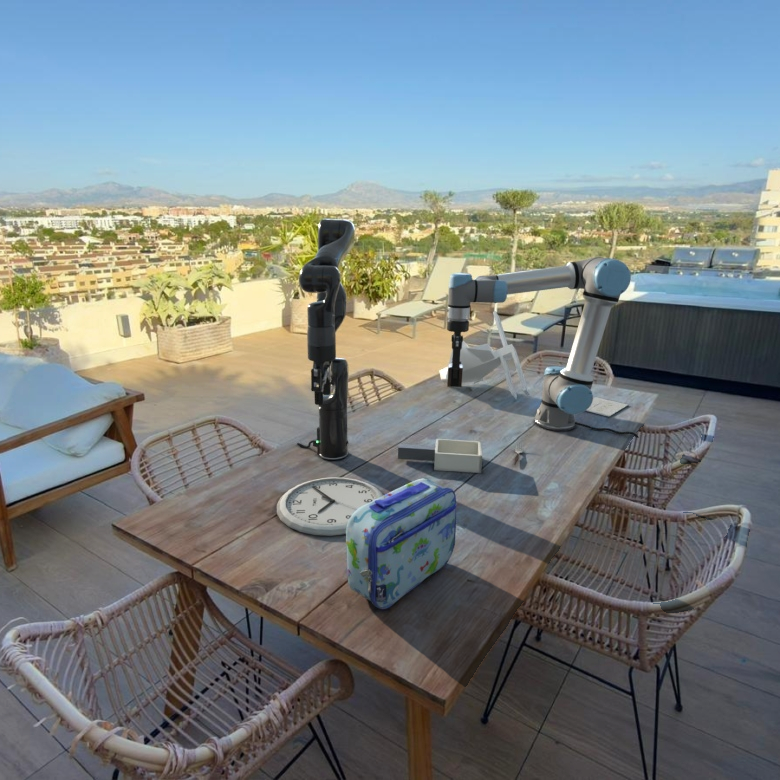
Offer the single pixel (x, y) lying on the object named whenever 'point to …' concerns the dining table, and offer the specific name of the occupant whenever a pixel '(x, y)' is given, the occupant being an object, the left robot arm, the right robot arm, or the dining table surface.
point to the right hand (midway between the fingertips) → (454, 384)
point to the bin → (446, 455)
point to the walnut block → (450, 375)
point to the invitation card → (605, 407)
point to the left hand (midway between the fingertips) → (322, 399)
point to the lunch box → (400, 540)
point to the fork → (518, 452)
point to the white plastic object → (487, 361)
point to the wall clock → (324, 504)
